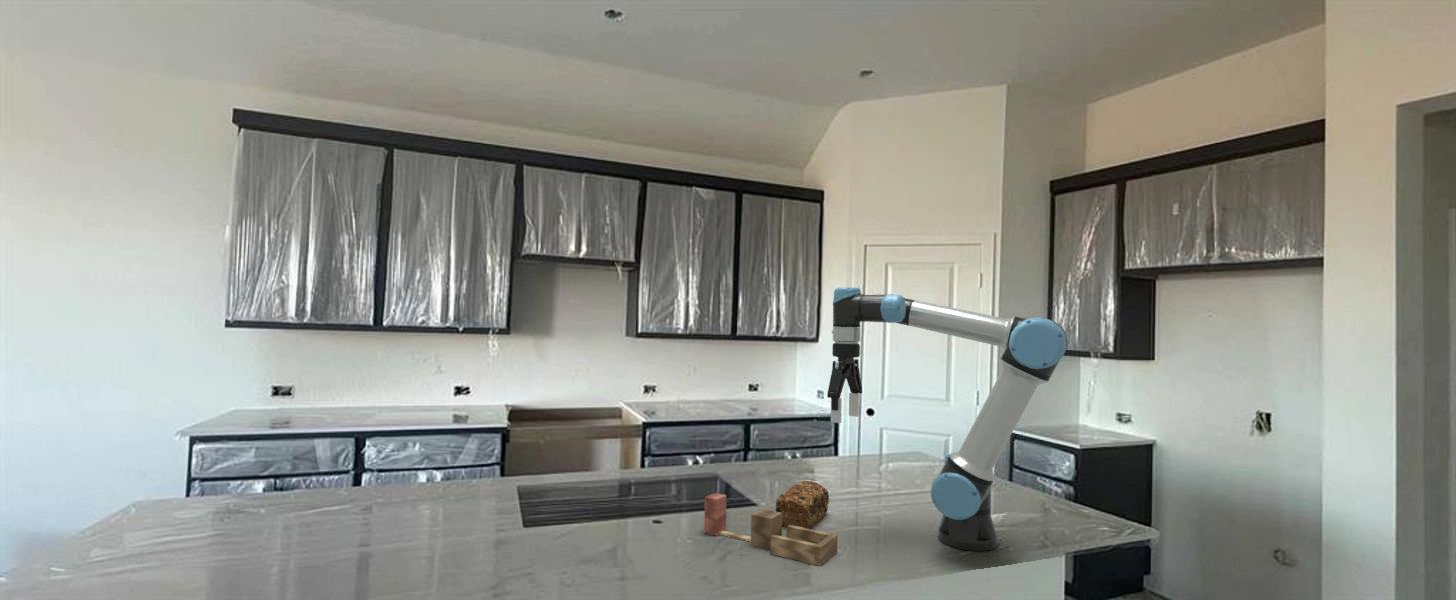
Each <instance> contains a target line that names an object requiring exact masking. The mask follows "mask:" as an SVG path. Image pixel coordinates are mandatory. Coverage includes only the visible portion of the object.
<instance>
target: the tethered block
mask: <svg viewBox="0 0 1456 600" xmlns="http://www.w3.org/2000/svg"><path fill="white" fill-rule="evenodd" d="M750 516H751V520H750V521H751V522H750V525H751V526H750V536H748V535H744V534H739V533H734V532H731V531H726V529H727V494H722V493H716V492H713V493H711V494H708V495H707V496H705V497H704V517H703V518H704V519H703V520H704V525H703V527H704V528H703V530H704V532H705V533H709V534H712V535H716V536H717V535H718V536H722V535H724V536H723V537H726V536H728V537H727V538H730V537H732V539H735V538H736V539H735V540H739V539H740V540H741V541H743V540H745V541H744V542H748V541H749V542H748V543H750V546H751V547H755V546H756V547H757V548H759V549H760V548H761V549H764V550H768V551H770V550H771V536H772V535H778V536H783V526H782V513H780V512H776V510H770V509H765V508H761V509H759V510H758V511H755V512H754V513H752V514H751V515H750ZM704 532H703V533H704ZM719 534H720V535H719ZM712 535H711V536H712ZM716 536H715V537H716ZM718 536H717V537H718Z"/></svg>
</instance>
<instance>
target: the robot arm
mask: <svg viewBox="0 0 1456 600" xmlns="http://www.w3.org/2000/svg"><path fill="white" fill-rule="evenodd" d="M861 322H862V323H866V322H867V323H870V322H871V323H888V324H890V323H891V324H899V325H904V326H908V327H914V328H918V329H921V330H926V331H931V332H936V333H940V334H944V335H949V336H952V337H957V338H961V339H967V340H969V341H974V342H979V343H983V344H988V345H992V346H996V347H1001V348H1002V349H1003V350H1004V352H1003V354H1002V356H1001V357H1000V362H1001V363H1000V364H1001V366H1002V368H1001V369H1002V370H1001V371H1000V374H999V375H998V377H997V379H996V381H995V383H994V385H993V386H992V388H991V390H990V391H989V394H988V395H987V397H986V400H985V402H984V403H983V406H982V407H981V409H980V411H979V413H978V415H977V417H976V419H975V420H974V423H973V425H971V428H970V430H969V432H968V433H967V435H966V437H965V439H964V441H963V443H962V445H961V447H960V449H959V450H958V451H955V452H951V453H950V454H947V455H946V456H945V461H944V465H943V467H942V469H941V470H940V472H939V474H938V476H937V475H936V477H935V478H934V479H933V481H932V483H931V487H930V496H931V501H932V503H933V505H934V507H935V508H936V510H938V511H939V512H940V513H941V515H942V517H941V520H940V523H939V526H938V529H937V538H938V540H939V541H940V542H941V543H943V544H944V545H945V546H946V545H947V546H949V547H951V548H955V549H959V550H965V551H970V552H971V551H973V552H985V551H986V552H987V551H992V550H995V549H997V547H998V544H999V543H998V541H999V538H998V534H997V531H996V527H995V524H994V522H993V518H992V513H991V512H992V509H991V507H992V485H993V483H994V481H995V479H996V477H995V474H994V473H993V469H994V467H995V465H996V463H997V462H998V459H999V458H1000V455H1001V454H1002V452H1003V450H1004V448H1005V446H1006V445H1007V443H1008V441H1009V440H1010V437H1011V436H1012V435H1013V434H1012V433H1013V432H1014V430H1015V428H1016V427H1017V425H1018V423H1019V421H1020V419H1021V417H1022V415H1023V414H1024V412H1025V410H1026V409H1027V406H1028V404H1029V403H1030V401H1031V399H1032V397H1033V395H1034V393H1035V392H1036V389H1037V388H1038V386H1039V385H1042V384H1047V383H1048V382H1049V381H1050V378H1051V377H1052V376H1053V374H1054V371H1055V370H1056V368H1057V366H1058V364H1059V362H1060V361H1061V359H1062V358H1063V356H1064V355H1065V353H1066V352H1067V349H1068V345H1069V339H1068V335H1067V333H1066V331H1065V329H1064V328H1063V327H1062V326H1061V325H1060V324H1059V323H1058V322H1057V321H1056V322H1055V320H1052V319H1048V318H1045V317H1039V316H1038V317H1031V318H1025V317H1021V316H1020V317H1019V316H1012V317H1011V318H1006V317H1005V318H1004V317H1001V316H995V315H990V314H986V313H980V312H975V311H970V310H965V309H960V308H957V307H956V308H955V307H950V306H945V305H941V304H935V303H930V302H925V301H919V300H915V299H912V298H905V297H904V296H903V295H901V294H892V293H888V294H862V291H861V288H859V287H854V286H853V287H851V286H850V287H846V286H842V287H836V288H835V289H834V291H833V301H832V330H831V334H832V340H833V342H834V343H833V344H832V357H836V358H837V360H833V361H832V367H831V368H832V369H831V374H830V379H829V384H828V390H827V394H826V395H827V396H826V397H827V398H828V399H829V398H830V423H835V424H841V423H842V398H841V395H842V392H843V388H844V385H845V382H846V381H847V385H848V388H849V391H850V392H848V416H849V417H856V418H859V416H860V415H859V414H860V411H859V410H860V403H859V402H860V394H863V386H862V379H861V374H860V366H859V362H860V361H859V359H858V358H859V357H860V356H861V345H860V344H859V343H860V342H861Z"/></svg>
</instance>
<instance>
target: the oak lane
mask: <svg viewBox="0 0 1456 600" xmlns="http://www.w3.org/2000/svg"><path fill="white" fill-rule="evenodd" d="M838 536H839V535H838V534H837V533H836V534H835V533H831V532H826V531H821V530H815V529H812V528H810V529H807V528H803V527H798V526H793V525H788V526H787V528H786V536H783V535H782V536H778V535H772V536H771V550H769V551H770V555H773V556H778V557H782V558H786V559H791V560H795V561H799V562H803V563H808V564H812V565H817V566H822V565H823V564H825V563H826V562H827V561H829V560H830V559H831V558H832V557H834V555H836V554H838Z"/></svg>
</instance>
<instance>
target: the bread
mask: <svg viewBox="0 0 1456 600" xmlns="http://www.w3.org/2000/svg"><path fill="white" fill-rule="evenodd" d="M829 500H830V498H829V492H828V489H827V488H826V487H824V486H823V485H821V484H820V483H817V482H815V481H810V480H801V481H799V482H798V483H796V484H794V485H793V486H791V487H790V488H788V489H787V490H785V491H784V492H782V493H781V494H779V496H778V497H777V498H776V500H775V501H776V502H775V512H780V513H782V527H783V526H784V527H783V528H785V527H787V526H788V525H793V526H798V527H803V528H807V529H812V528H813V527H814V525H815V526H816V525H817V524H818V523H819V522H820V521H822V519H824V518H825V517H824V516H826V515H827V513H828V508H829V506H828V505H829V502H830V501H829ZM823 517H824V518H823ZM816 523H817V524H816Z"/></svg>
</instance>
